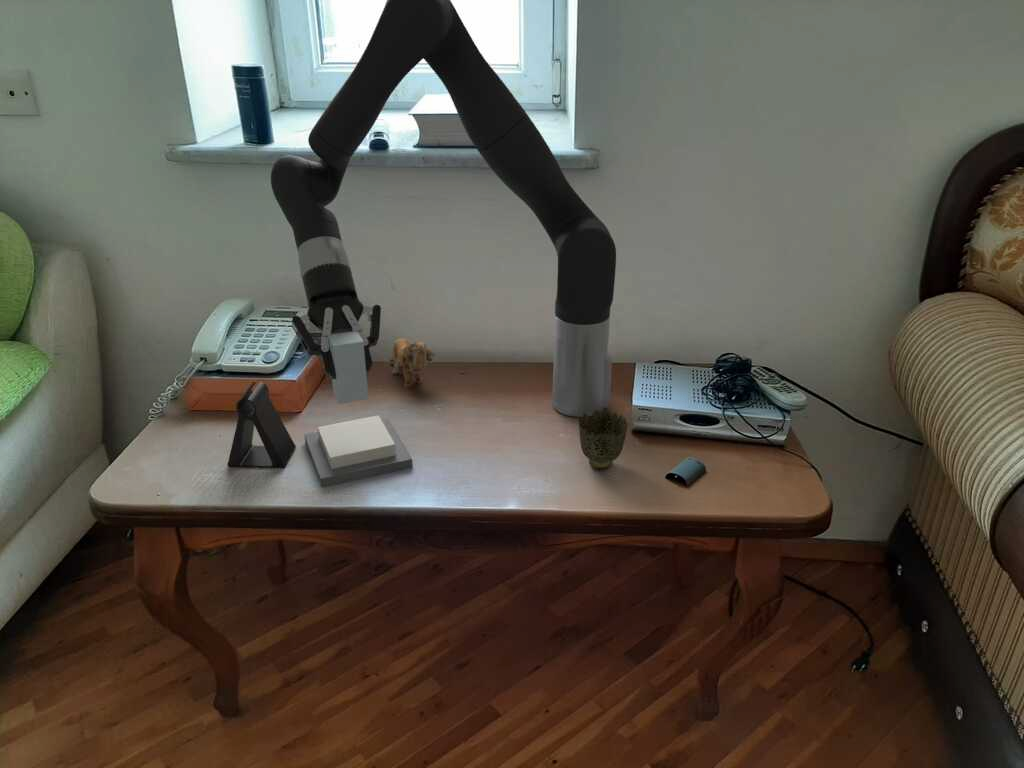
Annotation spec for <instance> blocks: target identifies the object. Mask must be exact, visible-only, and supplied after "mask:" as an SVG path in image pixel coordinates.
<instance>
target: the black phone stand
mask: <svg viewBox="0 0 1024 768" xmlns="http://www.w3.org/2000/svg"><path fill="white" fill-rule="evenodd" d="M256 384H257V382H256V381H252V382H251V383H250V385H249V386H248V387H247V389H246V390H245V391H244V393H243V394H242V395H241V397H240V399H238V401H237V402H236V405H235V406H236V407H235V408H236V411H237V418H238V419H237V423H236V427H235V430H234V435H233V439H232V443H231V444H232V445H231V448H230V453H229V457H228V462H227V467H228V468H241V469H243V468H244V469H245V468H246V469H247V468H248V469H249V468H250V469H251V468H252V469H255V468H258V469H285V468H286V466H287V464H288V463H289V460H290V459H291V457H292V455H293V453H294V452H295V449H296V444H295V442H294V440H293V439H292V437H291V435H290V433H289V431H288V430H287V428H286V426H285V424H284V422H283V421H282V419H281V417H280V415H279V413H278V411H277V410H276V408H275V406H274V404H273V403H272V401H271V398H270V390H269V389H270V388H269V386H268V385H267V383H265V382H263V381H260V382H259V384H258V385H257V386H256V388H255V389H254V390H253V391H252V389H253V387H255V385H256ZM255 429H256V432H257V434H258V436H259V438H260V440H261V442H262V444H263V445H253V437H254V430H255Z"/></svg>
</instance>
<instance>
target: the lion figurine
mask: <svg viewBox="0 0 1024 768" xmlns="http://www.w3.org/2000/svg"><path fill="white" fill-rule="evenodd" d="M392 346H393V347H392V358H391V359H389V362H390V363H393V370H392V374H393V375H398V374H399V369H398V360H399V363H400V365H401V366H402V371H403V377H404V387H405V386H406V387H405V388H410V387H412V382H411V378H410V373H412V374H415V375H414V381H415V382H416V383H417V382H418V383H417V384H421V383H423V381H424V380H423V379H422V378H420V375H421V372H422V371H423V370H424V369H425V368H426V367H427V365H428V362H429V363H432V362H433V359H434V358H435V355H436V352H434V351H432V350H430V348H429V347H427V346H426V343H425V342H422V341H420V342H419V341H417V342H414V343H410V344H409V341H408V340H407V339H405V338H398V339H396V340H395V341H394V343H393V345H392ZM420 382H421V383H420ZM409 386H410V387H409Z"/></svg>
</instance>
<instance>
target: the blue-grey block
mask: <svg viewBox="0 0 1024 768" xmlns="http://www.w3.org/2000/svg"><path fill="white" fill-rule="evenodd" d="M328 341H329V345H330V347H329V351H330V352H331V354H332V358H333V363H334V367H335V371H336V379H333V380H332V390H333V391H332V392H333V394H334V396H335V398H336V400H337V402H338V404H339V405H343V404H347V403H352V402H353V403H354V402H358V401H364V400H368V399H369V392H368V377H367V374H366V365H365V353H364V342H363V340H362V338H361V337H360V335H359V334H358V332H354V331H350V332H344V333H337V334H331V336H328Z"/></svg>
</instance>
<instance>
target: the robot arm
mask: <svg viewBox="0 0 1024 768" xmlns="http://www.w3.org/2000/svg"><path fill="white" fill-rule="evenodd" d="M422 60H424V61H425V63H426V64H428V66H429V67H430V68H431V70H432V71H433V72H434V73H435V74H436V75H437V77H438V78H439V80H440V81H441V83H442V84H443V86H444V88H445V89H446V90H447V92H448V95H449V97H450V99H451V101H452V103H453V105H454V108H455V109H456V112H457V114H458V117H459V119H460V121H461V124H462V126H463V128H464V130H465V132H466V133H467V136H468V138H469V139H470V141H471V142H472V145H473V146H474V148H475V149H476V150H477V151H478V153H479V154H480V156H481V157H482V159H483V160H484V161H485V162H486V164H487V165H488V166H489V168H490V169H491V170H492V172H493V173H494V174H495V175H496V176H497V177H498V178H499V179H500V181H502V183H503V184H505V185H506V187H507V188H508V189H509V190H511V192H513V194H515V196H517V197H518V199H519V198H520V200H521V201H523V203H525V204H526V206H528V208H529V209H530V210H531V211H532V213H533V214H534V215H535V217H536V218H537V219H538V221H539V222H540V224H541V225H542V228H543V229H544V230H545V232H546V233H547V236H548V237H549V239H550V240H551V242H552V245H553V247H554V248H555V252H556V256H557V282H556V283H557V284H556V297H555V302H554V304H555V305H554V332H553V333H554V336H553V338H554V339H553V340H554V341H553V343H554V344H553V373H552V374H553V375H552V378H553V379H552V395H551V396H552V407H553V408H554V409H555V411H557V412H559V413H561V414H562V415H566V416H569V417H574V418H575V417H577V418H579V417H580V416H581V417H583V414H584V413H586V414H587V416H589V415H590V416H592V415H593V413H594V410H598V411H599V412H601V411H603V410H605V409H607V408H610V397H611V395H610V394H611V384H612V383H611V381H612V380H611V379H612V363H613V359H612V357H611V356H610V355H608V352H609V351H608V350H609V349H608V348H609V337H610V336H609V335H610V321H611V319H610V317H611V307H612V303H613V300H614V292H615V291H614V290H615V282H616V281H615V280H616V265H617V247H616V244H615V241H614V239H613V237H612V235H611V233H610V231H609V229H608V227H607V226H606V225H605V224H604V222H603V221H602V220H601V219H600V218H599V217H598V216H597V215H596V214H595V213H594V211H592V210H591V208H590V207H588V205H587V204H586V203H585V202H584V200H582V198H581V197H580V195H579V194H578V193H577V192H576V191H575V189H574V188H573V187H572V186H571V184H570V183H569V181H568V180H567V178H566V177H565V174H564V172H563V170H562V169H561V167H560V165H559V163H558V160H557V159H556V157H555V155H554V153H553V152H552V150H551V148H550V146H549V145H548V143H547V141H546V140H545V139H544V137H543V135H542V133H541V132H540V131H539V129H538V127H537V126H536V124H535V123H534V122H533V120H532V119H531V117H530V116H529V115H528V113H527V112H526V111H525V109H524V108H523V106H522V105H521V103H519V101H518V100H517V98H516V97H515V96H514V95H513V93H512V92H511V90H510V89H509V88H508V86H507V85H506V83H505V82H504V81H503V80H502V79H501V78H500V76H499V75H498V74H497V72H496V71H495V70H494V69H493V68H492V66H491V65H490V64H489V63H488V62H487V60H486V59H485V57H484V56H483V55H482V53H481V51H480V50H479V48H478V47H477V45H476V43H475V42H474V40H473V38H472V36H471V35H470V33H469V31H468V29H467V27H466V26H465V24H464V22H463V20H462V18H461V17H460V15H459V12H458V11H457V9H456V8H455V6H454V4H453V2H452V0H386V2H385V5H384V7H383V10H382V12H381V14H380V16H379V18H378V21H377V24H376V26H375V28H374V30H373V33H372V35H371V37H370V40H369V42H368V43H367V45H366V47H365V50H364V51H363V53H362V55H361V56H360V58H359V60H358V62H357V63H356V65H355V67H354V68H353V70H352V71H351V73H350V74H349V76H348V77H347V79H346V80H345V81H344V83H343V84H342V86H341V87H340V88H339V90H338V91H337V93H335V95H334V97H333V98H332V99H331V101H330V103H329V104H328V105H327V107H326V108H325V110H324V111H323V112H322V114H321V116H320V117H319V118H318V119H317V121H316V122H315V125H314V126H313V127H312V129H311V131H310V132H309V135H308V141H307V142H308V145H309V148H310V149H311V151H312V152H313V153H314V154H315V155H316V156H317V157H319V158H320V159H319V160H318V162H316V161H313V160H309V159H306V158H302V157H300V156H297V155H292V154H286V155H282V156H281V157H279V158H278V159H277V160H276V161H275V162H274V163H273V166H272V169H271V172H270V184H271V190H272V194H273V196H274V197H275V200H276V202H277V204H278V205H279V208H280V209H281V211H282V213H283V216H284V217H285V218H286V220H287V222H288V224H289V225H290V227H291V229H292V232H293V237H294V241H295V246H296V249H297V256H298V265H299V271H300V272H299V274H300V278H301V279H302V285H303V287H304V288H303V289H304V292H305V297H306V301H307V305H308V310H307V313H306V314H303V315H300V316H299V315H294V316H293V317H292V318H291V319H292V320H291V327H292V330H293V332H294V333H295V334H296V337H297V338H298V340H299V342H300V343H301V345H302V347H303V349H304V350H305V352H306V353H307V354H308V356H311V357H313V356H318V357H320V359H321V363H322V367H323V371H324V375H325V376H326V377H329V378H330V380H333V379H336V371H335V367H334V363H333V358H332V354H331V352H330V351H329V347H330V345H329V341H328V336H331V334H337V333H344V332H350V331H354V332H358V334H359V335H360V337H361V338H362V340H363V342H364V353H365V365H366V375H367V374H369V373H370V370H372V367H373V359H372V355H371V350H370V348H371V347H376V345H378V341H379V338H380V331H381V330H380V329H381V328H380V327H381V315H382V313H381V312H382V307H381V305H379V304H374V305H373V306H367V305H364V304H363V303H362V302H361V301H360V299H359V297H358V294H357V290H356V289H357V288H356V286H355V281H354V277H353V273H352V270H351V269H352V268H351V265H350V261H349V258H348V254H347V250H346V249H345V247H344V243H343V240H342V235H341V232H340V231H341V230H340V227H339V223H338V220H337V217H336V216H335V214H334V213H333V212H332V210H329V209H328V208H326V206H329V204H331V203H332V202H333V201H334V200H335V199H336V198H337V196H338V193H339V191H340V189H341V186H342V182H343V179H344V176H345V173H346V171H347V168H348V165H349V162H350V160H351V158H352V157H353V155H354V154H355V152H357V150H358V148H359V147H360V145H361V144H362V143H363V141H364V140H365V139H366V137H367V136H368V134H369V132H370V131H371V130H372V128H373V127H374V125H375V123H376V121H377V120H378V118H379V116H380V114H381V112H382V110H383V109H384V108H385V105H386V103H387V102H388V100H389V98H390V96H391V95H392V94H393V92H394V91H395V89H396V88H397V87H398V86H399V85H400V83H401V82H402V80H403V79H404V78H405V77H407V75H408V74H409V73H410V72H411V71H412V70H413V69H414V68H415V67H416V66H417V65H418V64H419V63H420V62H421V61H422ZM362 315H365V318H366V320H367V321H368V322H370V326H369V327H370V328H369V336H366V334H365V333H364V332H363V328H362V326H361V325H360V323H359V322H360V319H361V316H362ZM309 322H310V323H311V324H312V325H314V326H315V327H316V328H317V329H318V330H319V331H321V340H320V344H318V343H316V342H315V340H314V339H313V337H312V336H311V333H310V332H309V331H308V329H309Z"/></svg>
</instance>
